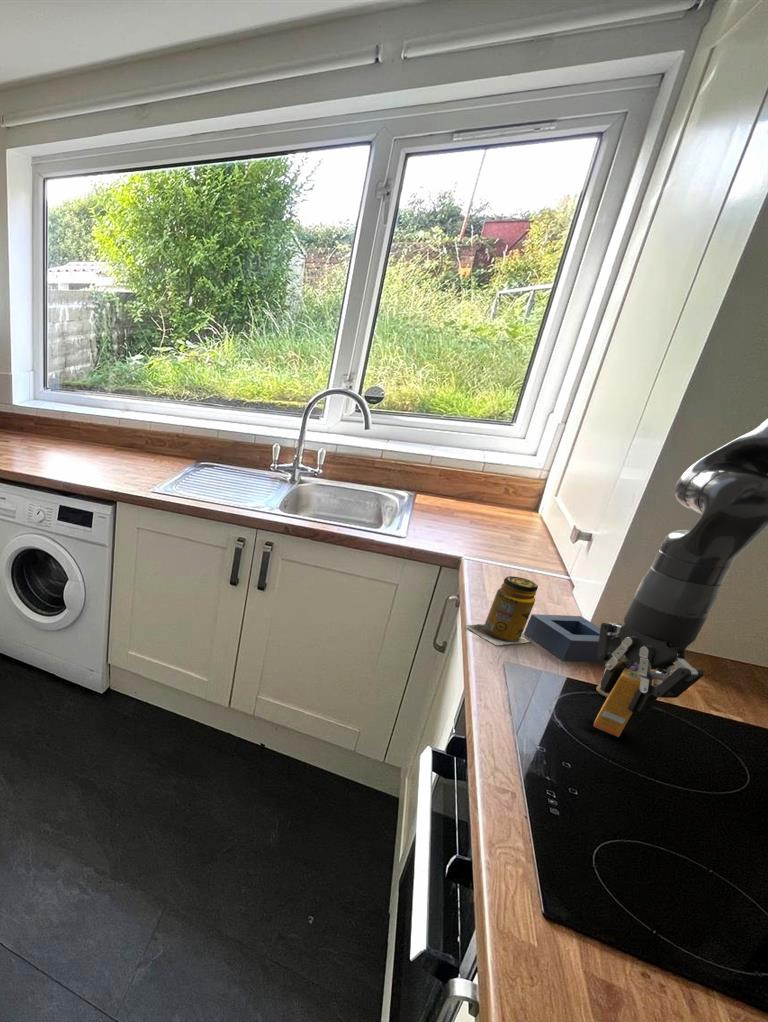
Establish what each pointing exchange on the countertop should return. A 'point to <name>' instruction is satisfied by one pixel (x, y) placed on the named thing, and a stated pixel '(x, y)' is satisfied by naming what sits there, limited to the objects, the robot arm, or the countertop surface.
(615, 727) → the supplement box
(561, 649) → the socket block
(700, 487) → the robot arm
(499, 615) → the condiment
